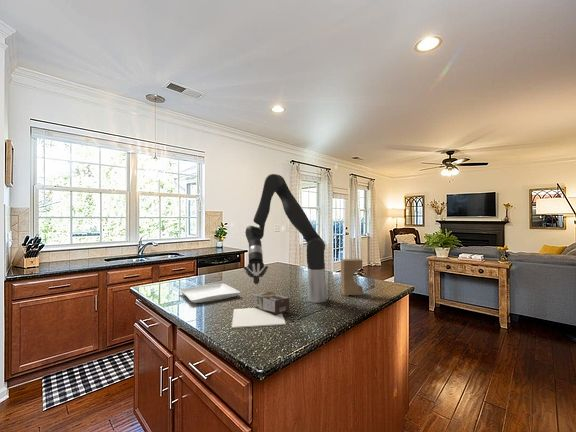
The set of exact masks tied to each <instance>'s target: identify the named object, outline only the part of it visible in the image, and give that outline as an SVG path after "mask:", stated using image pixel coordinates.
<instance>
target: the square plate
mask: <svg viewBox="0 0 576 432" xmlns="http://www.w3.org/2000/svg"><path fill="white" fill-rule="evenodd" d="M178 291H179V292H180V293H181V294H183V296H185V297H187V299H188V300H189V301H190V302H191V303H193V304H204V303H208V302H209V303H210V302H215V301H220V300H225V299H230V298H234V297H236V296H238V295H240V294H241V291H240V290H238V289H235V288H234V287H232V286H231V285H228V284H225V283H214V284H205V285H199V286H198V285H196V286H193V287H186V288H181V289H178ZM203 302H204V303H203Z"/></svg>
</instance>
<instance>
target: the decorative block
mask: <svg viewBox="0 0 576 432" xmlns="http://www.w3.org/2000/svg"><path fill="white" fill-rule="evenodd" d="M362 269H363V259H361V258H342V259H340V292H341V295H343V297H348V296H349V295H353V296H363V294H364V293H363V291H364V289H363V288H364V287H363V286H362V285H360V284H358V283H356V282H355V280H354V275H355V273H356V272H357V271H359V270H362Z"/></svg>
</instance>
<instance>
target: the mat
mask: <svg viewBox="0 0 576 432" xmlns="http://www.w3.org/2000/svg"><path fill="white" fill-rule="evenodd" d="M232 313H233V314H232V322H231V329H242V328H257V327H272V326H286V324H287V323H286V320H285V317H284V316H283V313H281V314H278V315H273V314H271V313H268V312H266V311H263V310H261V309H258V308H256V307H250V308H249V307H247V308H246V307H245V308H234V309H233V312H232Z"/></svg>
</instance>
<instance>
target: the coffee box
mask: <svg viewBox="0 0 576 432" xmlns="http://www.w3.org/2000/svg"><path fill="white" fill-rule="evenodd" d="M253 308H258V309H261V310H263V311H266V312H268V313H271V314H273V315H278V314H281V313H282V314H284V313H287V312H290V298H289V296H284V295H282V294H277V293H275V292H270V291H265V292H260V293H254V294H253Z"/></svg>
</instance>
